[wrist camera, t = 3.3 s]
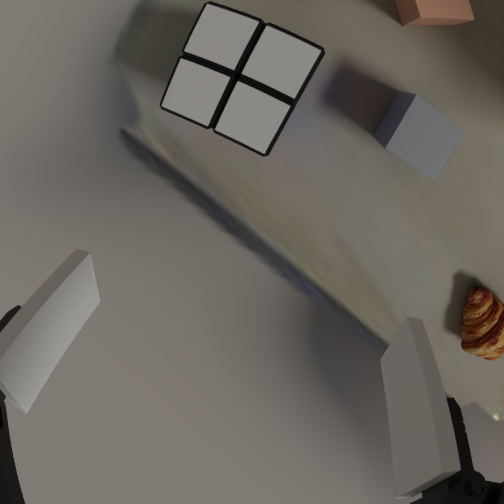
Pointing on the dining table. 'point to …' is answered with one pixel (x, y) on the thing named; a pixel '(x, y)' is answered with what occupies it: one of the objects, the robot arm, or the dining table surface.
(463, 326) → the croissant
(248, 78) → the puzzle cube
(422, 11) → the terracotta block
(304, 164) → the dining table surface
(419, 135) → the slate grey block
